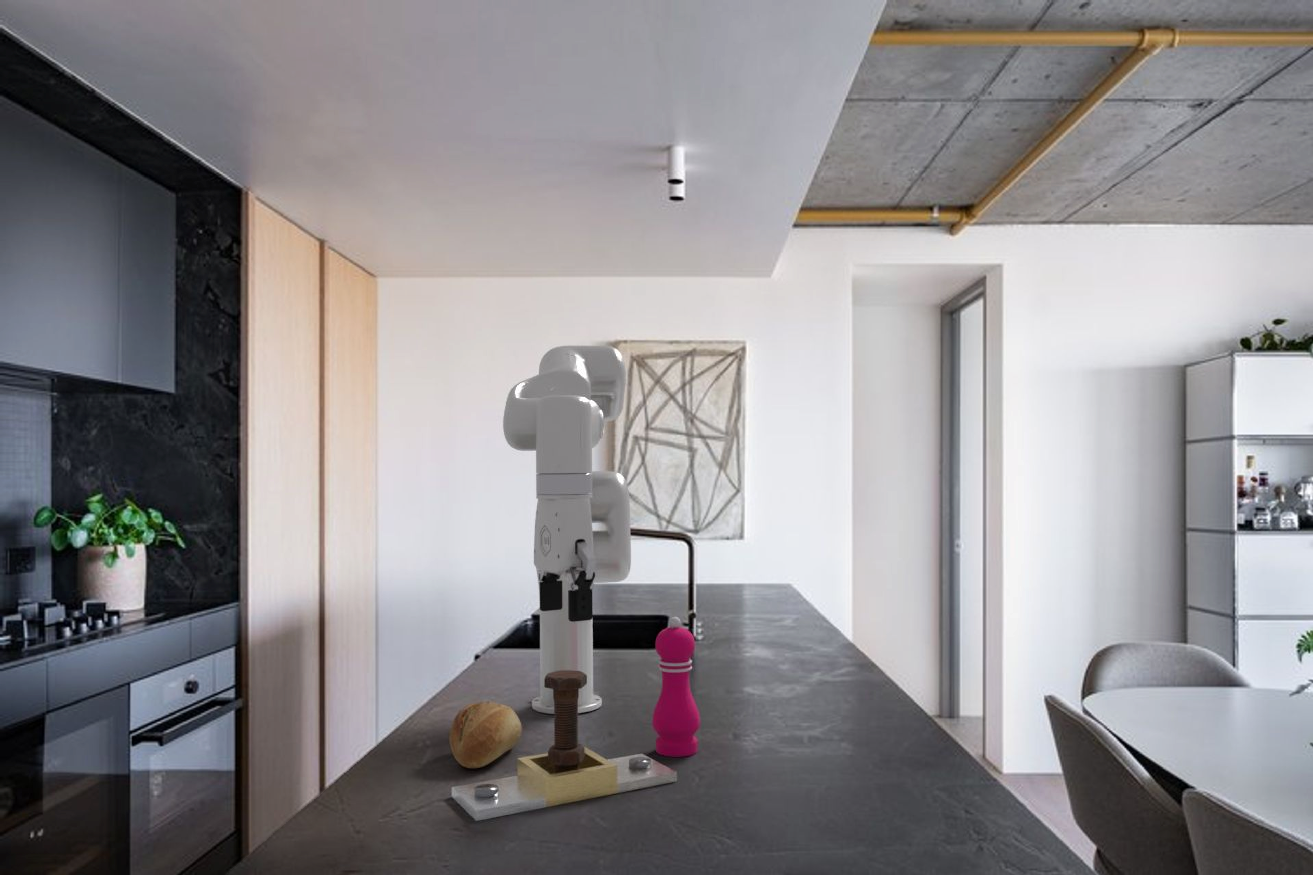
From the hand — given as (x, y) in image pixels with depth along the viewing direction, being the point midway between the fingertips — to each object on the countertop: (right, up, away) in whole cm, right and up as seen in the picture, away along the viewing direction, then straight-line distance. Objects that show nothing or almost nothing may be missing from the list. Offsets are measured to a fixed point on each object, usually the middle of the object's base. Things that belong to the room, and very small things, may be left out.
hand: (565, 615), depth 123 cm
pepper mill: (+15, -24, +15) cm, 32 cm away
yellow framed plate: (0, -23, -2) cm, 23 cm away
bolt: (0, -23, -1) cm, 23 cm away
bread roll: (-13, -24, +13) cm, 30 cm away
